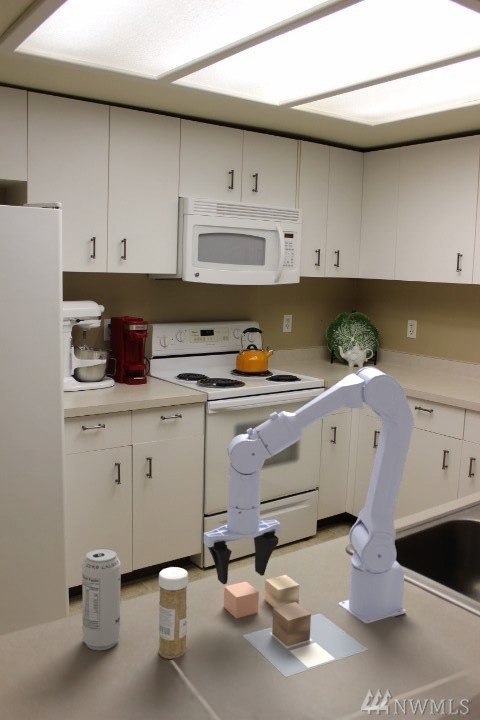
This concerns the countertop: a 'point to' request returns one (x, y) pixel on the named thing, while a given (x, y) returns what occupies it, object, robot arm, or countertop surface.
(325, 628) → the build board
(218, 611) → the countertop surface
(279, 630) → the walnut block
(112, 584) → the energy drink can
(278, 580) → the maple block
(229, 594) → the terracotta block
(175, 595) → the sprinkles bottle
